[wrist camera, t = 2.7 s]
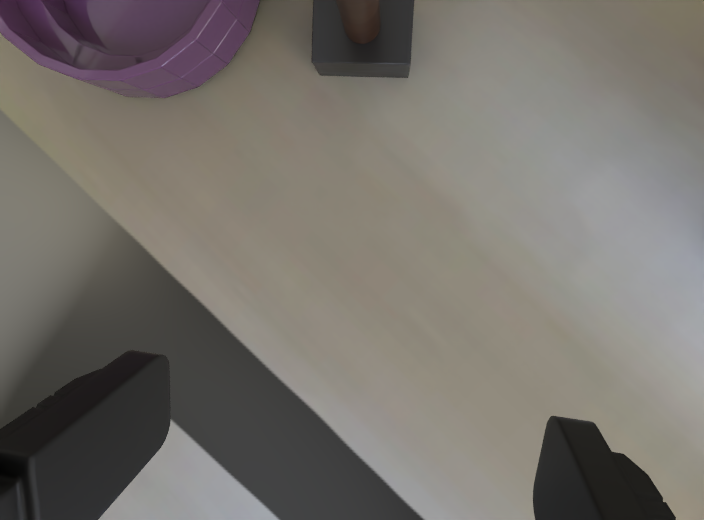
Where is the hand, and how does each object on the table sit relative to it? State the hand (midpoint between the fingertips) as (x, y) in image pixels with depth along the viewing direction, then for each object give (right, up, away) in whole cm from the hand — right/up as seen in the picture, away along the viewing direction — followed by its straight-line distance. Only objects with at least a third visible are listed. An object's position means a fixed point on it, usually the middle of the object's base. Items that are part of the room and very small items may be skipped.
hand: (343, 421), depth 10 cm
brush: (+1, +18, +22) cm, 28 cm away
